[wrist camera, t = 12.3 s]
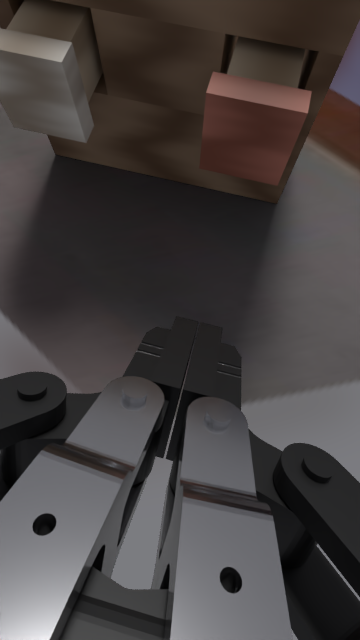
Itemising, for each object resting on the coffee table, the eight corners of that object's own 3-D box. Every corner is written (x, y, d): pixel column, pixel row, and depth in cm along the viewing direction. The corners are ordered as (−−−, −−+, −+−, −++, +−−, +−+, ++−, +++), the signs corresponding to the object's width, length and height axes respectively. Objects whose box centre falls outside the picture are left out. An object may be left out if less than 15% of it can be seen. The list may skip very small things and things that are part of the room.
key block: (55, 154, 24) (-53, -97, 13) (88, 85, 26) (21, -183, 15) (276, 203, 23) (377, -21, 12) (292, 127, 25) (389, -126, 14)
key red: (199, 168, 17) (206, 92, 13) (235, 46, 20) (250, -45, 16) (277, 185, 17) (307, 113, 13) (303, 59, 20) (334, -30, 16)
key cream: (13, 127, 18) (-31, 43, 14) (74, 14, 20) (52, -80, 17) (86, 142, 17) (61, 62, 14) (138, 27, 20) (129, -67, 16)
